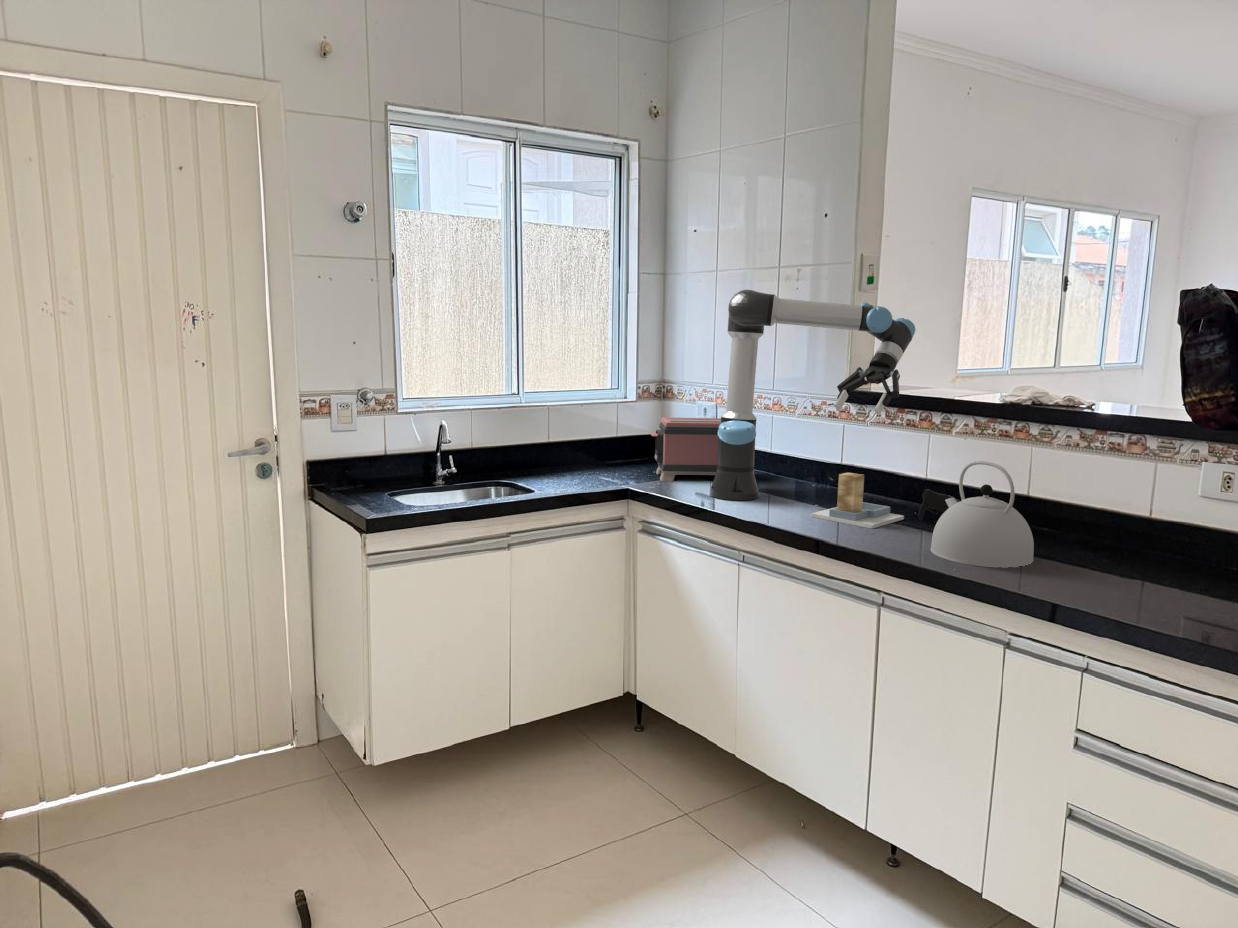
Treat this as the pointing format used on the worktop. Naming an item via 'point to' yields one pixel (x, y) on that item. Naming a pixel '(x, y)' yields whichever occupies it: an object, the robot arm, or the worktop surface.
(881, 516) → the grey shape fitting board
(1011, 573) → the worktop surface
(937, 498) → the gun
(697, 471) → the toaster
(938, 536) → the kettle
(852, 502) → the block
